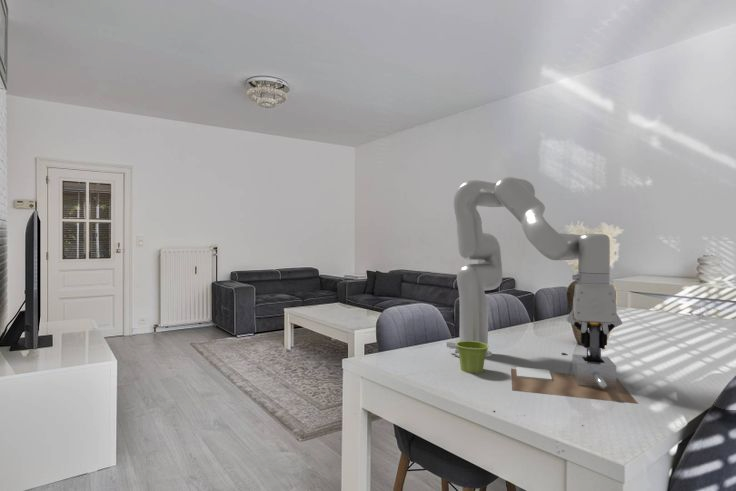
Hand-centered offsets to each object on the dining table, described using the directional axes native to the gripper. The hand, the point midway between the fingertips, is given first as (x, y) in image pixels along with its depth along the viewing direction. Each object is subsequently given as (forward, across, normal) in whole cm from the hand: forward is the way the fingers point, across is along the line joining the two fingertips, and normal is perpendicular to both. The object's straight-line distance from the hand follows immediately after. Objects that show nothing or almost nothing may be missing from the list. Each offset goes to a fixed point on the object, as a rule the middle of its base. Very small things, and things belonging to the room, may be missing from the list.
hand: (593, 346), depth 114 cm
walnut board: (+11, -7, -4) cm, 13 cm away
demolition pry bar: (+11, -1, +23) cm, 26 cm away
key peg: (+4, 0, 0) cm, 4 cm away
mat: (+10, -15, +2) cm, 18 cm away
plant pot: (+11, -32, +1) cm, 34 cm away
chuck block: (+10, 0, -4) cm, 10 cm away
